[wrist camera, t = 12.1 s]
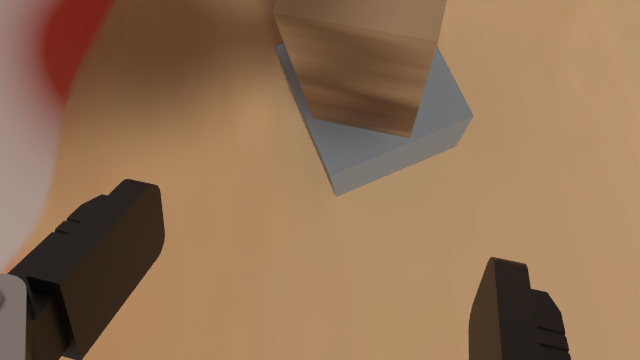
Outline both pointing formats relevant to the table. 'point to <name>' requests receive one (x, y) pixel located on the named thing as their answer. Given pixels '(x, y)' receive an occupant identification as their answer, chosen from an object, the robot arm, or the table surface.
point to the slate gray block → (380, 148)
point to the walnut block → (362, 58)
